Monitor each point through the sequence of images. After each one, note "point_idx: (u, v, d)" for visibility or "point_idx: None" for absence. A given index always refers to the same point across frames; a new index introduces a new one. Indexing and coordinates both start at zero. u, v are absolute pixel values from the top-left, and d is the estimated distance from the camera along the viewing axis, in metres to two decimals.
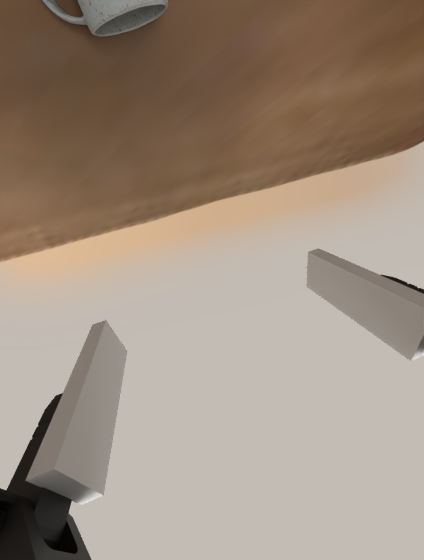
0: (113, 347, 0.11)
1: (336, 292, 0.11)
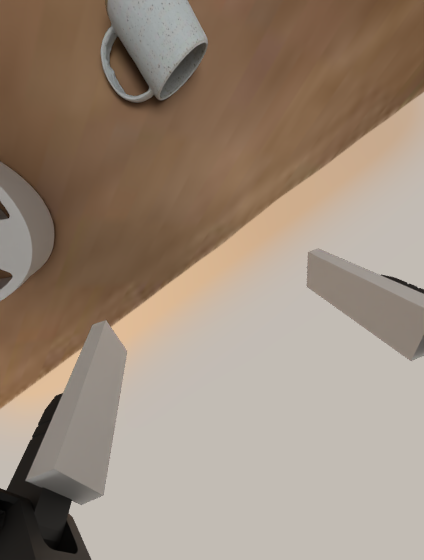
0: (113, 347, 0.11)
1: (336, 292, 0.11)
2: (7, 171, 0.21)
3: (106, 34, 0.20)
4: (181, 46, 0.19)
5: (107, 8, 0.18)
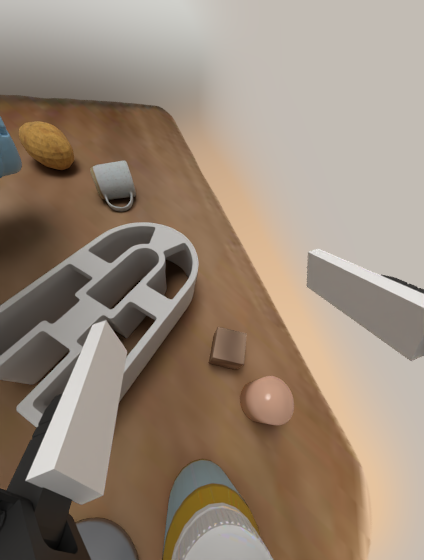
0: (113, 347, 0.11)
1: (336, 292, 0.11)
2: (134, 245, 0.36)
3: (106, 199, 0.44)
4: (124, 164, 0.43)
5: (100, 190, 0.43)
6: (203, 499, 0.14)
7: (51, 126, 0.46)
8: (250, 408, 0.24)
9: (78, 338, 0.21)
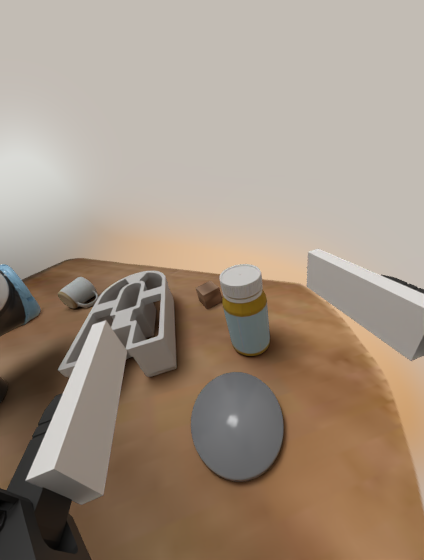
0: (113, 347, 0.11)
1: (336, 292, 0.11)
2: None
3: (79, 303, 0.59)
4: (80, 278, 0.62)
5: (73, 299, 0.58)
6: None
7: None
8: None
9: (130, 321, 0.36)
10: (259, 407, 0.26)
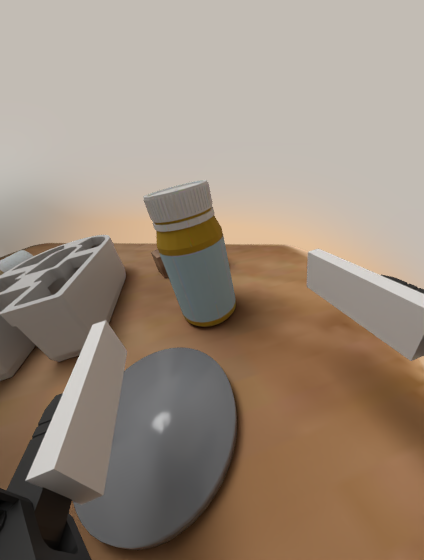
0: (113, 347, 0.11)
1: (336, 292, 0.11)
2: None
3: None
4: (21, 251, 0.51)
5: None
6: None
7: None
8: None
9: (34, 282, 0.25)
10: (199, 399, 0.15)
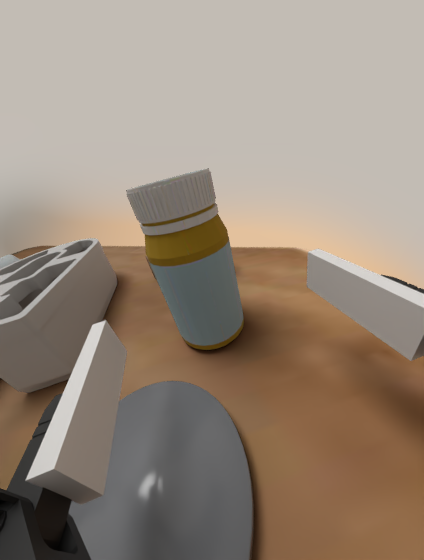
0: (113, 347, 0.11)
1: (336, 292, 0.11)
2: None
3: None
4: (7, 255, 0.47)
5: None
6: None
7: None
8: None
9: (1, 296, 0.21)
10: (199, 467, 0.11)
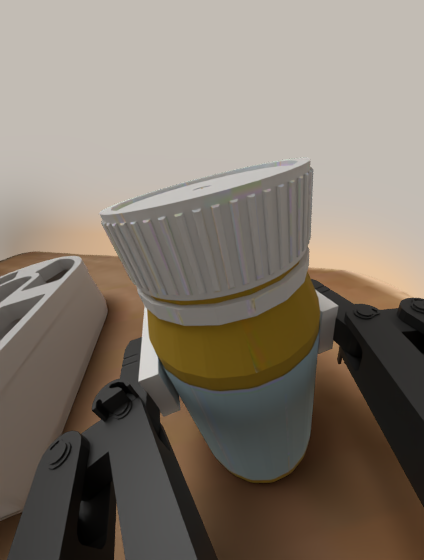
0: None
1: None
2: None
3: None
4: None
5: None
6: None
7: None
8: None
9: None
10: None
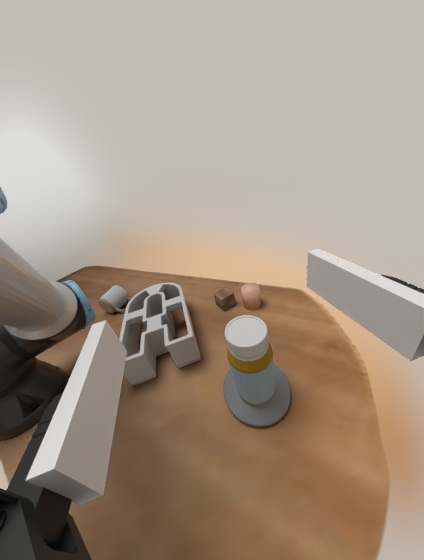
0: (113, 347, 0.11)
1: (336, 292, 0.11)
2: (139, 310, 0.62)
3: (117, 308, 0.67)
4: (116, 286, 0.71)
5: (112, 305, 0.67)
6: None
7: None
8: (247, 298, 0.53)
9: (161, 324, 0.45)
10: None
